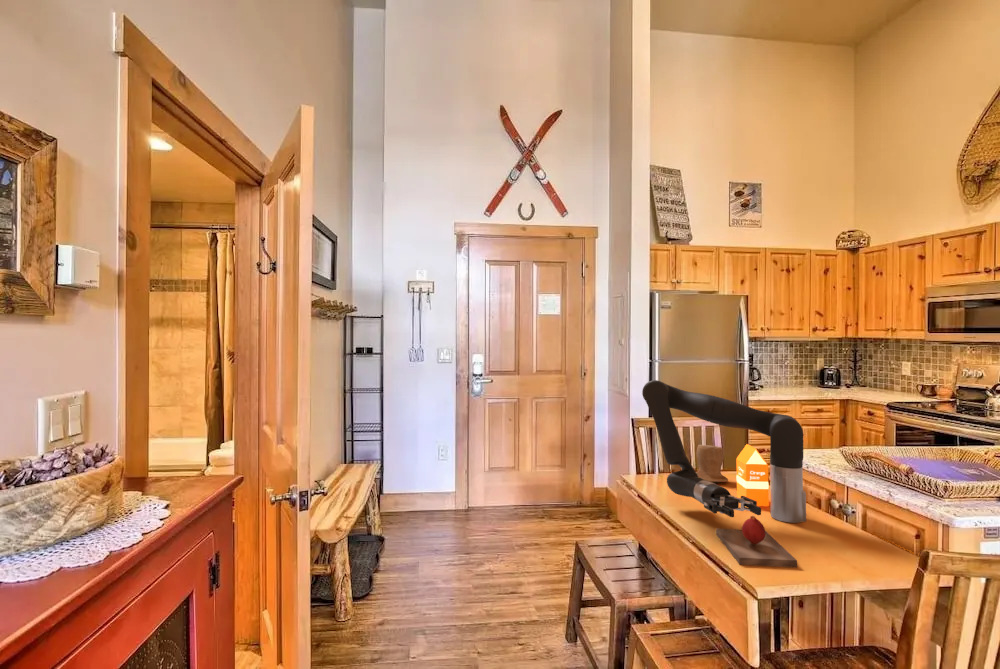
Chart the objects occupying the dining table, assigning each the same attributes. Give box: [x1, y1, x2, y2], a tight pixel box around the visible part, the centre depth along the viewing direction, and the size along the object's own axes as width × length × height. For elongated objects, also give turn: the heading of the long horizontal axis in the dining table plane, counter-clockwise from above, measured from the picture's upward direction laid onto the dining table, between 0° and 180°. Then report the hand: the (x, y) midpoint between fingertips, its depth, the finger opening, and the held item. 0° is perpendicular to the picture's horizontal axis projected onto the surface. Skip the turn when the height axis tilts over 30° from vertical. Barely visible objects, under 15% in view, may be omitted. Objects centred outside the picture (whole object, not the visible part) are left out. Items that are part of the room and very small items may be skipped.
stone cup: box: [696, 444, 729, 483], centre depth 204 cm, size 15×12×15 cm
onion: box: [741, 515, 766, 545], centre depth 135 cm, size 6×6×8 cm
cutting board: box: [715, 528, 798, 568], centre depth 136 cm, size 14×20×2 cm
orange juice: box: [735, 443, 770, 507], centre depth 177 cm, size 8×9×20 cm
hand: (746, 512), depth 138 cm, fingers open, 8 cm apart
